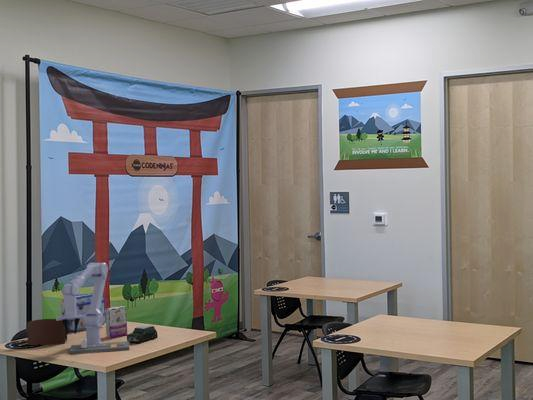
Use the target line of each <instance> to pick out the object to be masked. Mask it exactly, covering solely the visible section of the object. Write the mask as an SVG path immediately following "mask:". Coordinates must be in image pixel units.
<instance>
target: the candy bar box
mask: <svg viewBox="0 0 533 400" xmlns="http://www.w3.org/2000/svg"><path fill="white" fill-rule="evenodd" d="M105 318H106V322H105V334H106V338H108V339H113V338H119V337H123V336H127V335H128V321H127V307H126V306H125V305H121V306H113V307H109V308H106V309H105Z"/></svg>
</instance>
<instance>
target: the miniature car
mask: <svg viewBox="0 0 533 400" xmlns="http://www.w3.org/2000/svg"><path fill="white" fill-rule="evenodd" d="M158 336H159V334H158V331H157V330H156V328H155V326H154V325H152V324H142V325H138V326H136V327H135V328H134V329H133V331H132V332H131V333H127V335H126V342H127V341H129V343H132V342H137V343H138V344H143V343H144V341H146V340H148V339H153V340H157V339H158ZM156 338H157V339H156Z"/></svg>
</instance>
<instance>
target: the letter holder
mask: <svg viewBox="0 0 533 400" xmlns="http://www.w3.org/2000/svg"><path fill="white" fill-rule="evenodd" d="M26 327H27V328H26V329H27V346H28V345H33V346H46V345H48V346H49V345H61V344H63V345H65V344H66V342H67V341H68V334H67V332H66V329H65V326H64V324H63V322H62V320H59V321H56V318H42V319H34V320H29V321H27V324H26ZM39 344H40V345H39Z"/></svg>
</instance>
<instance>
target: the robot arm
mask: <svg viewBox="0 0 533 400" xmlns="http://www.w3.org/2000/svg"><path fill="white" fill-rule="evenodd" d="M85 267H86V268H85V269H84V270H83V272H81V274H80V275H75V276H74V278H73V279H72V280H71V281H69V283H67V284H66V283H65V284H64V285H63V286H62V288H61V294H62V295H63V298H64V299H65V316H61V315H58V316H56V318H55V319H56V321H59V320H62V322H63V324H64V326H65V329H66V332H67V335H69V331H70V330H68V320H74V319H75V320H74V323H75V331H74V335H76V334H77V332H78V331H77V326H78V323H79V321H80V319H83V320H82V323H83V326H85V328H86V330H85V333H86V334H85V338H86V340H87V344H98V343H102V340H101V327H102V326H103V325H102V324H103V314H102V313H101V312H100V306H101V301H102V296H104V289H105V284H106V282H107V281H106V280H107V277H108V271H109V267H108V264H107V263H106V262H89V263H88V264H87V265H86V266H85ZM90 277H91V279H93V280H94V285H93V286H94V287H93V291H92V293H93V295H92V300H91V305H90V309H89V310H88V311H86V312H85V315H77V309H76V295H77V294H79V290H80V289H81V288H82V287H83V286H84V285H85V283H86V280H87V279H89V278H90ZM93 315H94V316H93Z"/></svg>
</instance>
